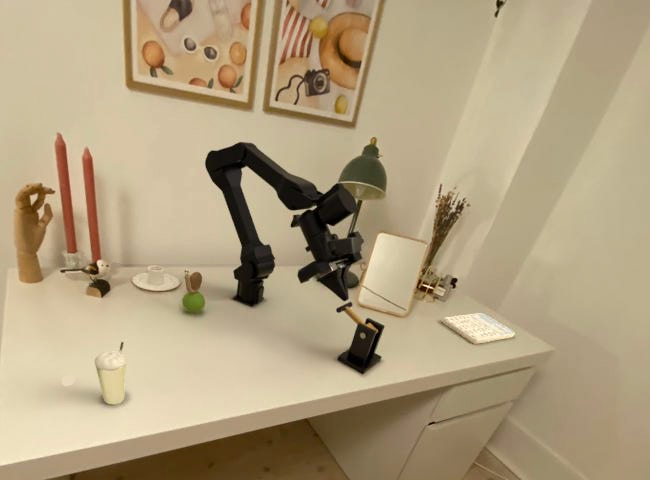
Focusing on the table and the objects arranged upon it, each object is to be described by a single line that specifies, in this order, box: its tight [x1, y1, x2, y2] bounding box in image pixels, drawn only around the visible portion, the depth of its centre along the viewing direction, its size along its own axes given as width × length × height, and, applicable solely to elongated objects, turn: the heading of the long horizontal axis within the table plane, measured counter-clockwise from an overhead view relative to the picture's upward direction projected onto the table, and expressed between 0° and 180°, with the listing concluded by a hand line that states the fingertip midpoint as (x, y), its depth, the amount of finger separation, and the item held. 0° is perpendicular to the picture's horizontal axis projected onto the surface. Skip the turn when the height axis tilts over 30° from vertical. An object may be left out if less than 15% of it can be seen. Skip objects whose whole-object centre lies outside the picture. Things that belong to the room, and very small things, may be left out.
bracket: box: [337, 317, 385, 375], centre depth 86 cm, size 7×9×10 cm
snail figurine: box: [181, 269, 206, 314], centre depth 90 cm, size 5×6×12 cm
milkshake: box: [94, 341, 127, 406], centre depth 62 cm, size 4×5×10 cm
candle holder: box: [132, 264, 181, 292], centre depth 102 cm, size 12×12×4 cm
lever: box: [335, 301, 378, 334], centre depth 85 cm, size 10×6×2 cm, turn 51°
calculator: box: [441, 312, 516, 345], centre depth 116 cm, size 13×20×2 cm, turn 118°
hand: (346, 300), depth 85 cm, fingers closed
